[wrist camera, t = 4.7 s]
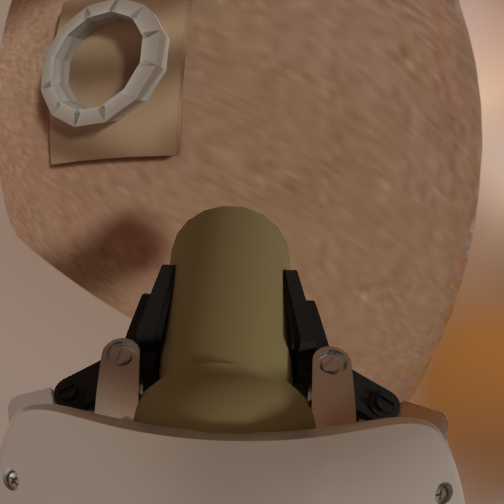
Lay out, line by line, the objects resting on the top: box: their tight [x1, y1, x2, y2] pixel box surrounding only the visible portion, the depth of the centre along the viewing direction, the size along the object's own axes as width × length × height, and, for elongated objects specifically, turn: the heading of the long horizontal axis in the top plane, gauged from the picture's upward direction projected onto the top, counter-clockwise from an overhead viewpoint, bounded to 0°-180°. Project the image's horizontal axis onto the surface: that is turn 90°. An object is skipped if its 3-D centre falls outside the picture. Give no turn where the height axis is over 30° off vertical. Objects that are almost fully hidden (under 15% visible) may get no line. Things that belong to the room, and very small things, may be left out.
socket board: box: [41, 0, 192, 165], centre depth 14 cm, size 16×12×4 cm
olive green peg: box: [133, 206, 316, 434], centre depth 9 cm, size 6×6×11 cm
